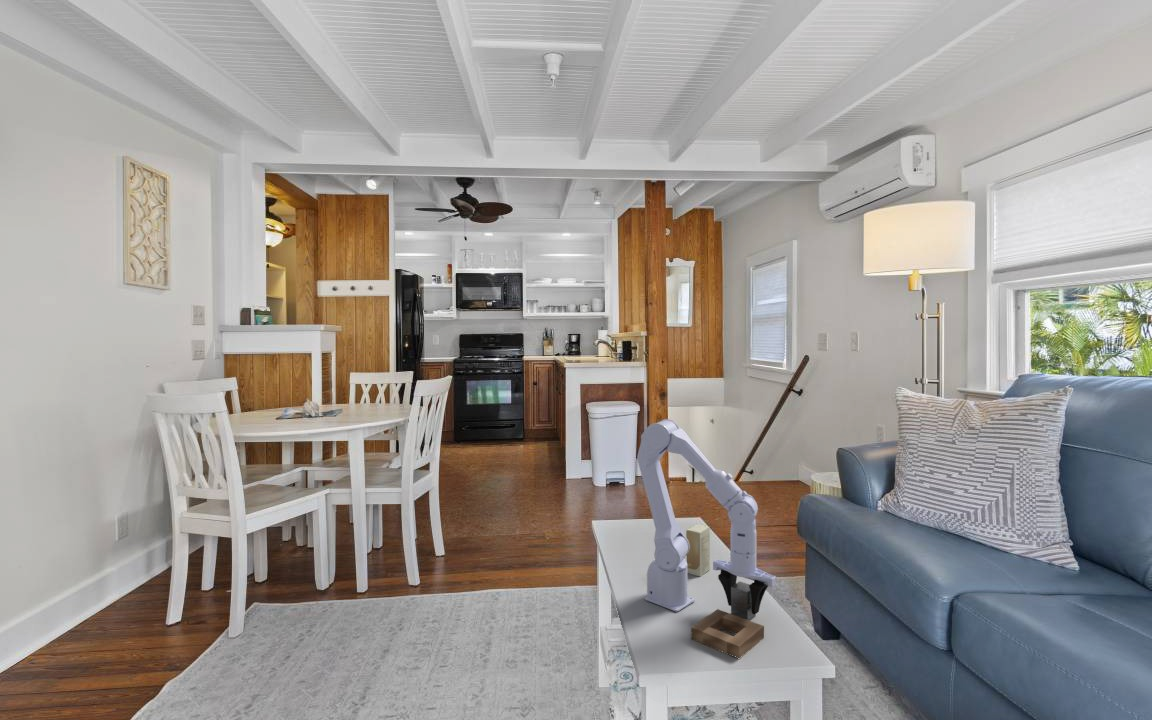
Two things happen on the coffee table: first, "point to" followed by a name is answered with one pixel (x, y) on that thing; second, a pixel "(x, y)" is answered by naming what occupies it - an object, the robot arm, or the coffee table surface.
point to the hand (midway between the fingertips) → (743, 608)
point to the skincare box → (698, 549)
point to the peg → (741, 601)
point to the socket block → (734, 645)
